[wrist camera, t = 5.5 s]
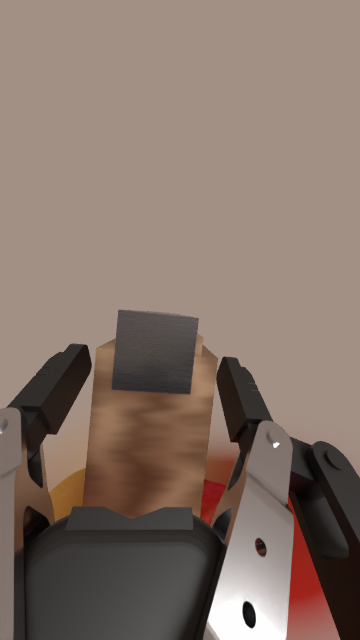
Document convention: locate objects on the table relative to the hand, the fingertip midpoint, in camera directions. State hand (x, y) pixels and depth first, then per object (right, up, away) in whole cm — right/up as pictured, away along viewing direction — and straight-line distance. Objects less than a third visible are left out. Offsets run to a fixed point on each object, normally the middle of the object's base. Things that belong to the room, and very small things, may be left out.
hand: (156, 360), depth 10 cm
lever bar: (-1, -1, +11) cm, 11 cm away
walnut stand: (-4, -32, +14) cm, 35 cm away
